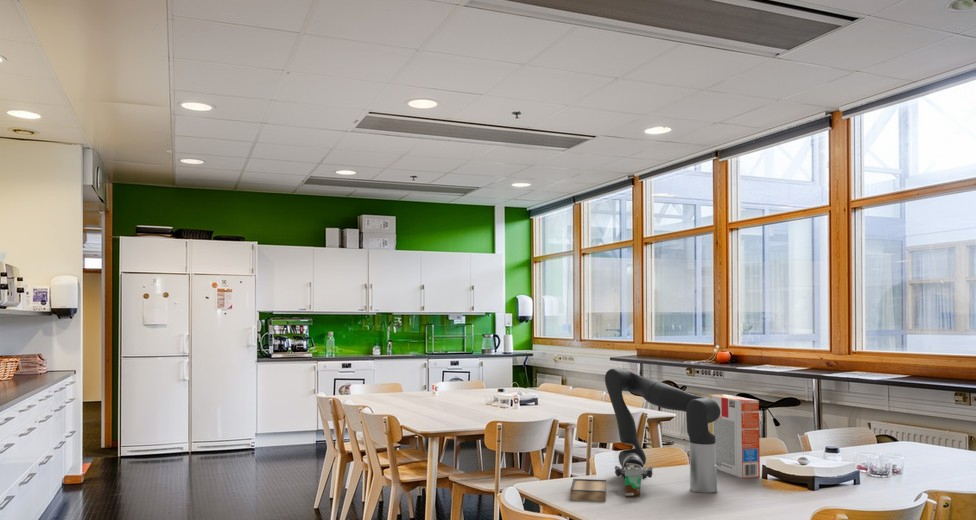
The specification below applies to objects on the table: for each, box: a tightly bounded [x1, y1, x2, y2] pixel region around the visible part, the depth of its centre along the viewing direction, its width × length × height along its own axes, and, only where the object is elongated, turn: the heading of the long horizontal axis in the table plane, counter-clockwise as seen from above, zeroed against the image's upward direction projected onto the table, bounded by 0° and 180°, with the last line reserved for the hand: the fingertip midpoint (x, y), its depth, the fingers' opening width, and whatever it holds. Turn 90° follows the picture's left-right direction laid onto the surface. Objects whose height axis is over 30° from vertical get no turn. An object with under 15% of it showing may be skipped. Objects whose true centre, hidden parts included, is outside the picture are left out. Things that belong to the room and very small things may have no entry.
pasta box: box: [708, 393, 761, 479], centre depth 318 cm, size 23×8×30 cm, turn 17°
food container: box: [624, 463, 643, 498], centre depth 276 cm, size 12×6×10 cm, turn 168°
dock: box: [570, 478, 607, 502], centre depth 277 cm, size 12×18×3 cm, turn 171°
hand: (634, 476), depth 276 cm, fingers closed on food container, 6 cm apart
